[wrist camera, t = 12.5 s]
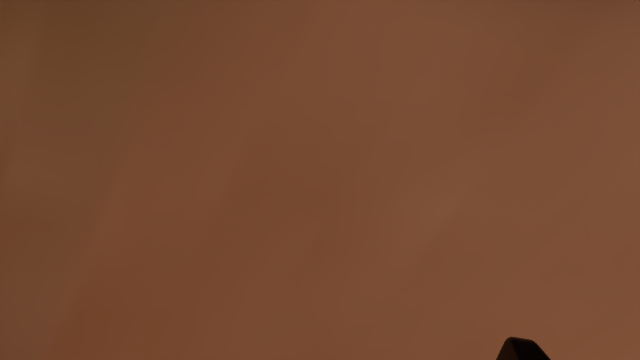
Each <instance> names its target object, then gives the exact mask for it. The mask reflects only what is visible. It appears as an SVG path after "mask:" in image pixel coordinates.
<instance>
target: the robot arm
mask: <svg viewBox="0 0 640 360" xmlns="http://www.w3.org/2000/svg"><path fill="white" fill-rule="evenodd" d="M496 360H551V359H550V358H549V357H548V356H547V355H546V354H545V352H544V351H543V350H542V349H541V348H540V347H539V346H538V344H537V343H535V342H534V341H532V340H529V339H523V338H517V337H509V338H508V339H506V341H505V342H504V344H503V346H502V348H501V350H500V353H499V355H498V357H497V359H496Z"/></svg>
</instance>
